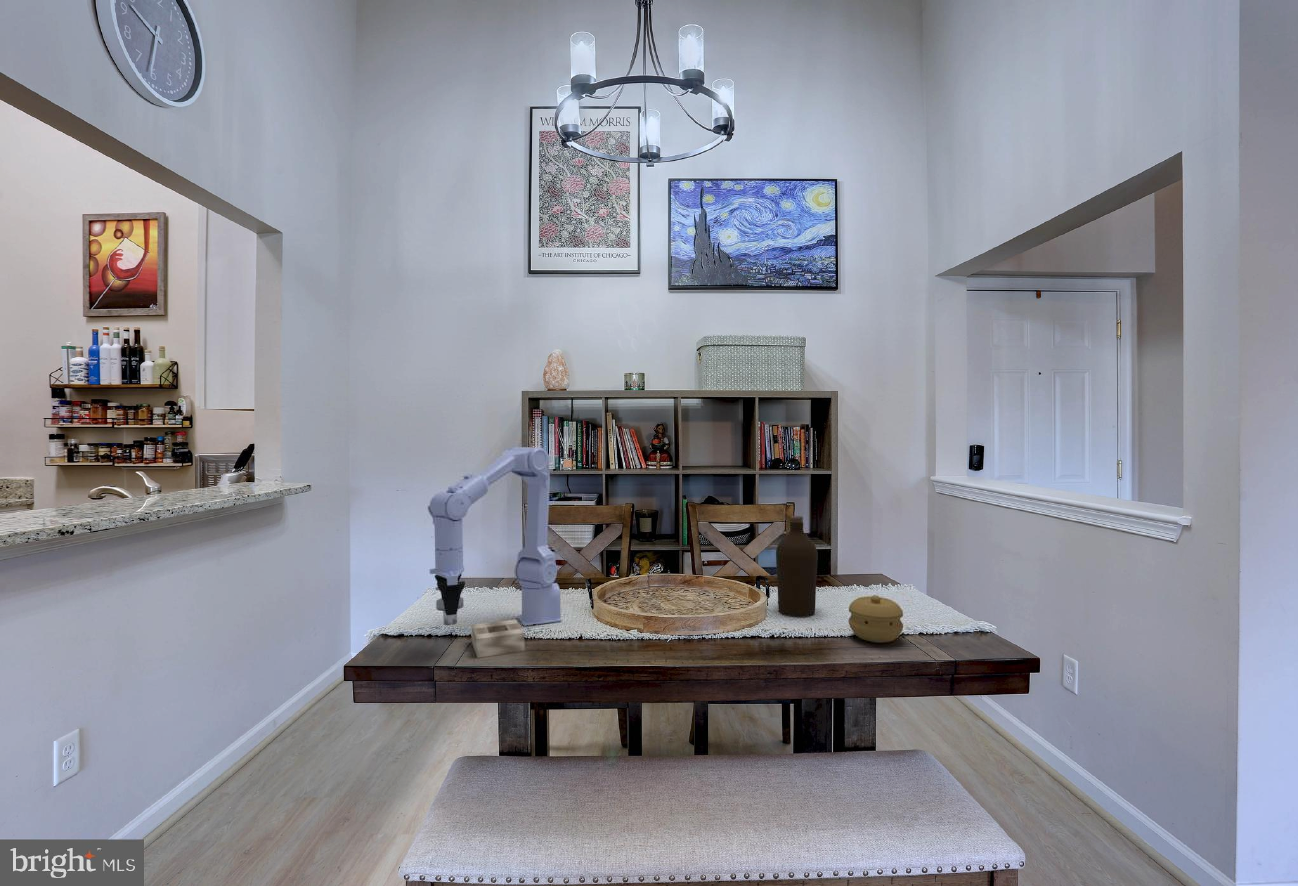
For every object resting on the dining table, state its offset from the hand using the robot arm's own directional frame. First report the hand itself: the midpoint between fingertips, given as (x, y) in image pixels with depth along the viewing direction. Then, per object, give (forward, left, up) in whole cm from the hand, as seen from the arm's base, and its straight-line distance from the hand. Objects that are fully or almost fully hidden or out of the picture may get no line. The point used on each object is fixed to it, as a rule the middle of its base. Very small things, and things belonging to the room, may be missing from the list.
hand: (450, 610), depth 133 cm
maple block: (-10, 0, -9) cm, 14 cm away
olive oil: (-86, +6, -10) cm, 87 cm away
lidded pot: (-90, +30, -10) cm, 95 cm away
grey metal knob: (0, 0, -3) cm, 3 cm away
